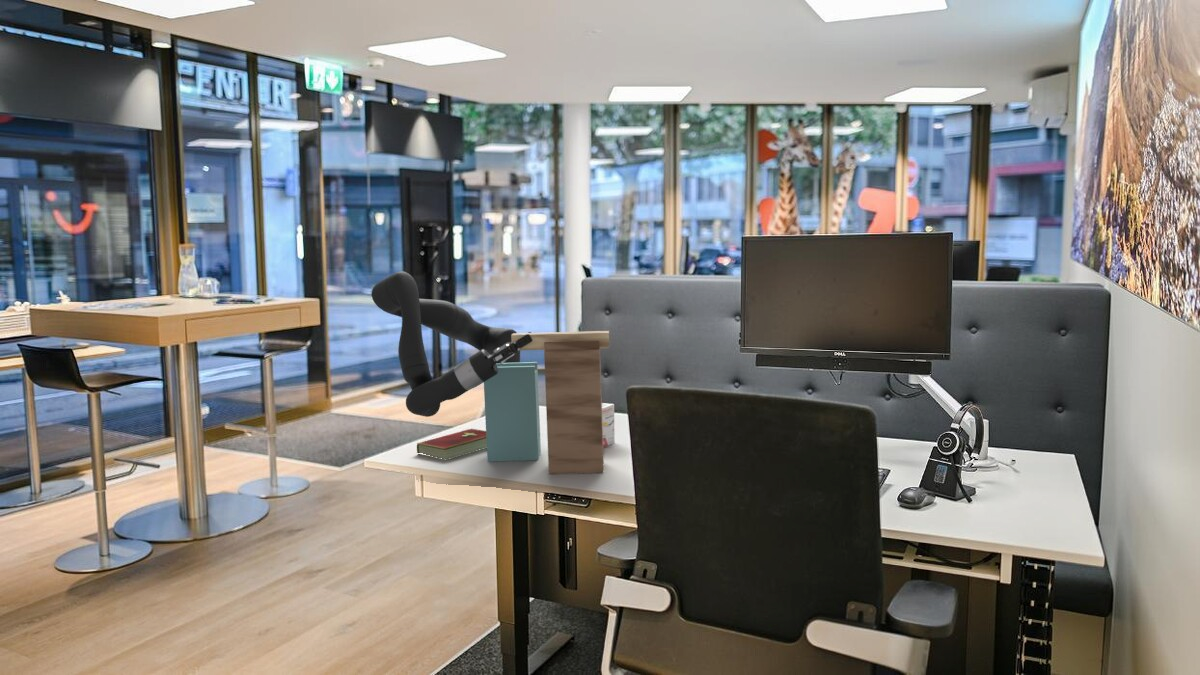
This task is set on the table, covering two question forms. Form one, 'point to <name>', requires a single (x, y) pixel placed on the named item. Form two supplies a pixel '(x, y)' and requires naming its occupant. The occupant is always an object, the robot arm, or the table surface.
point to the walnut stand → (574, 407)
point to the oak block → (562, 338)
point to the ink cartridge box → (608, 424)
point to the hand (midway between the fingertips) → (531, 336)
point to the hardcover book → (454, 444)
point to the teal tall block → (513, 413)
